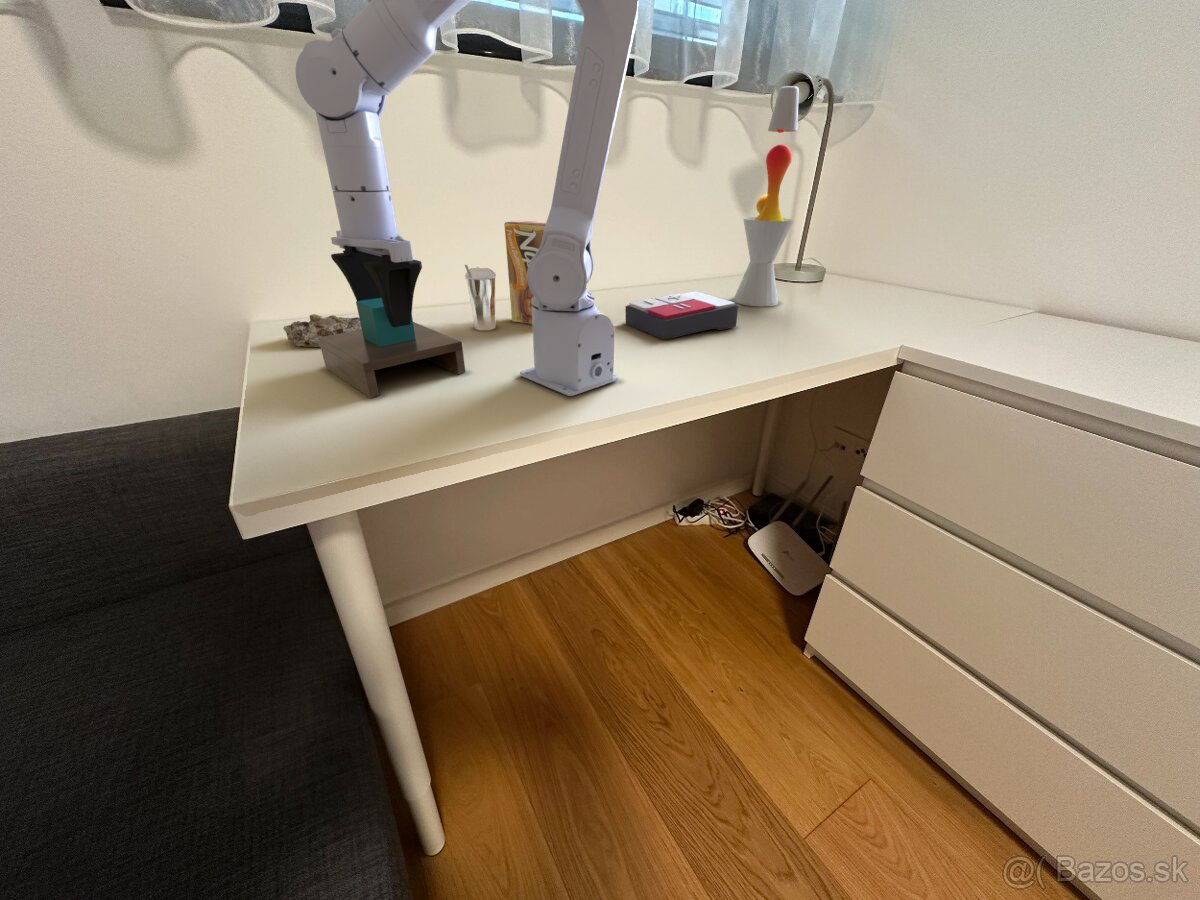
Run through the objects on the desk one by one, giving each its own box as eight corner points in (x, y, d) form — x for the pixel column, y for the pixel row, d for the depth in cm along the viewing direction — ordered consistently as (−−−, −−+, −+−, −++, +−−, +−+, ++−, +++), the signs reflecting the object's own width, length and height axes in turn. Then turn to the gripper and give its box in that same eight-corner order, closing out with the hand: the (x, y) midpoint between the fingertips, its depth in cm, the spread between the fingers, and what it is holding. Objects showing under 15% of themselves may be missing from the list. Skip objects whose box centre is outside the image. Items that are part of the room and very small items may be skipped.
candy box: (569, 322, 85) (567, 222, 78) (557, 328, 82) (554, 224, 74) (523, 316, 88) (517, 219, 81) (510, 322, 85) (503, 221, 77)
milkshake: (461, 330, 80) (453, 263, 75) (483, 322, 84) (477, 258, 79) (484, 334, 78) (477, 266, 73) (505, 326, 82) (500, 261, 78)
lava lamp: (788, 305, 98) (830, 84, 82) (745, 307, 97) (779, 81, 80) (764, 295, 106) (798, 91, 89) (724, 297, 104) (751, 89, 87)
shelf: (465, 372, 63) (462, 341, 62) (370, 398, 56) (363, 363, 54) (415, 349, 71) (410, 320, 70) (325, 368, 64) (317, 337, 62)
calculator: (624, 300, 83) (695, 287, 90) (624, 326, 86) (694, 312, 92) (665, 315, 75) (740, 300, 82) (664, 344, 77) (737, 326, 84)
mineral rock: (286, 336, 68) (277, 307, 72) (293, 364, 71) (283, 335, 75) (372, 328, 73) (358, 302, 78) (375, 354, 76) (361, 327, 81)
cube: (416, 339, 62) (410, 302, 60) (379, 347, 59) (372, 308, 57) (398, 332, 65) (392, 295, 62) (363, 339, 62) (355, 301, 60)
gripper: (297, 189, 56) (328, 313, 63) (351, 194, 47) (380, 338, 54) (362, 188, 60) (383, 304, 67) (422, 192, 52) (440, 326, 58)
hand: (386, 319), depth 61 cm, fingers open, 7 cm apart
